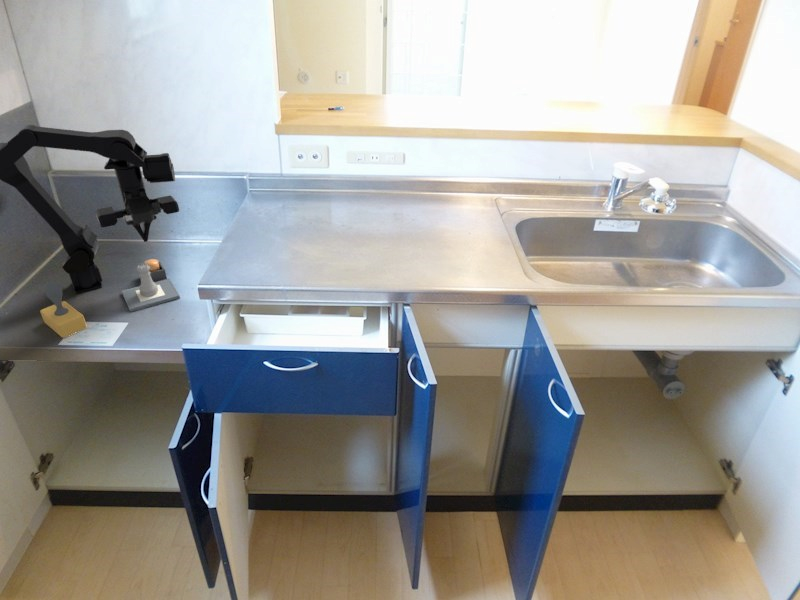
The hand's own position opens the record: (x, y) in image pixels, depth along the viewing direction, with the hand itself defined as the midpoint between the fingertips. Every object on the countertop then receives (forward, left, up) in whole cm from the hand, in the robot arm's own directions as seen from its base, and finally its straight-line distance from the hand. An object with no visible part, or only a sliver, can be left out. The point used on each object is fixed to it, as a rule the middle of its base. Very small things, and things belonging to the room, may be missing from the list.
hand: (145, 241), depth 147 cm
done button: (0, 0, -9) cm, 9 cm away
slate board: (-3, -9, -11) cm, 15 cm away
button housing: (0, 0, -11) cm, 11 cm away
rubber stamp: (-23, -12, -11) cm, 28 cm away
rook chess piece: (-3, -9, -10) cm, 14 cm away
